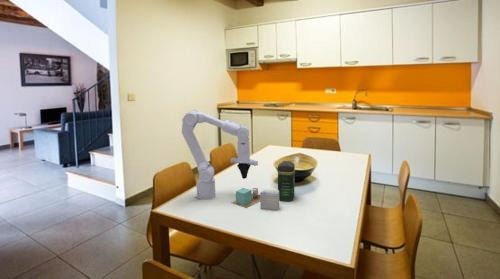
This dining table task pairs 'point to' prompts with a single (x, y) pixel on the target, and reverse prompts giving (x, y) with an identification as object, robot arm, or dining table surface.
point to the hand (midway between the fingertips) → (244, 177)
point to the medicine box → (269, 199)
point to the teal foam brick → (244, 196)
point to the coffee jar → (286, 181)
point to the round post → (255, 193)
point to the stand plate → (250, 203)
